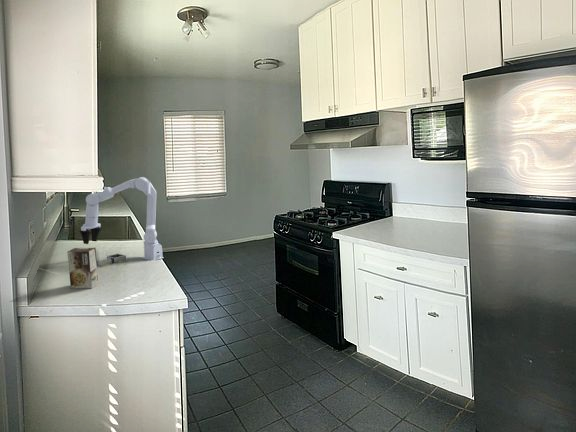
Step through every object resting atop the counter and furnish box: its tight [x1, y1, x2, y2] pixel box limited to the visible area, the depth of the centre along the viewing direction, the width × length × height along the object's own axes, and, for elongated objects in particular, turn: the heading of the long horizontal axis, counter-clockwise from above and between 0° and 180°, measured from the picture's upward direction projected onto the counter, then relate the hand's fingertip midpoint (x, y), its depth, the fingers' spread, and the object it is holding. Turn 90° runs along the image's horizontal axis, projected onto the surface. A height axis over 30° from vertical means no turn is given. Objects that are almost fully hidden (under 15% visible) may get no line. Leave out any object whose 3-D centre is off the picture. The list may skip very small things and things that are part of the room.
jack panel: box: [97, 253, 127, 268], centre depth 200 cm, size 9×16×3 cm, turn 148°
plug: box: [96, 248, 108, 261], centre depth 196 cm, size 5×4×7 cm
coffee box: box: [66, 247, 99, 289], centre depth 164 cm, size 9×6×16 cm
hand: (90, 242), depth 201 cm, fingers open, 7 cm apart
